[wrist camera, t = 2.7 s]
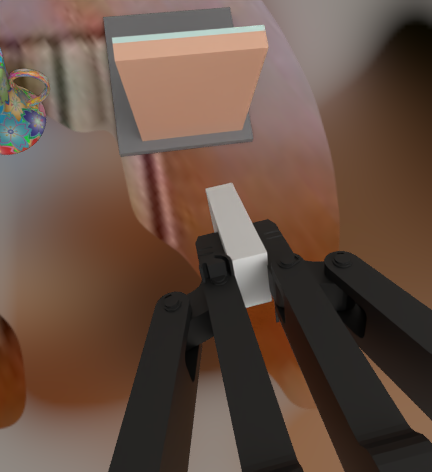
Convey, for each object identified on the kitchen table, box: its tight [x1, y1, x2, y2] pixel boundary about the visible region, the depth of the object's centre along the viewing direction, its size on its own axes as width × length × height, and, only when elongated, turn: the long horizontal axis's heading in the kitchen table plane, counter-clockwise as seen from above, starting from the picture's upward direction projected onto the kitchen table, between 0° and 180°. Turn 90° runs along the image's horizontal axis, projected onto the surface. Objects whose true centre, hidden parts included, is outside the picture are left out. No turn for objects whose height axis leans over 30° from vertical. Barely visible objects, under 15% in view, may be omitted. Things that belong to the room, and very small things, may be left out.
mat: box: [103, 7, 253, 157], centre depth 41 cm, size 18×16×1 cm
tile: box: [112, 25, 268, 141], centre depth 32 cm, size 2×12×14 cm, turn 99°
